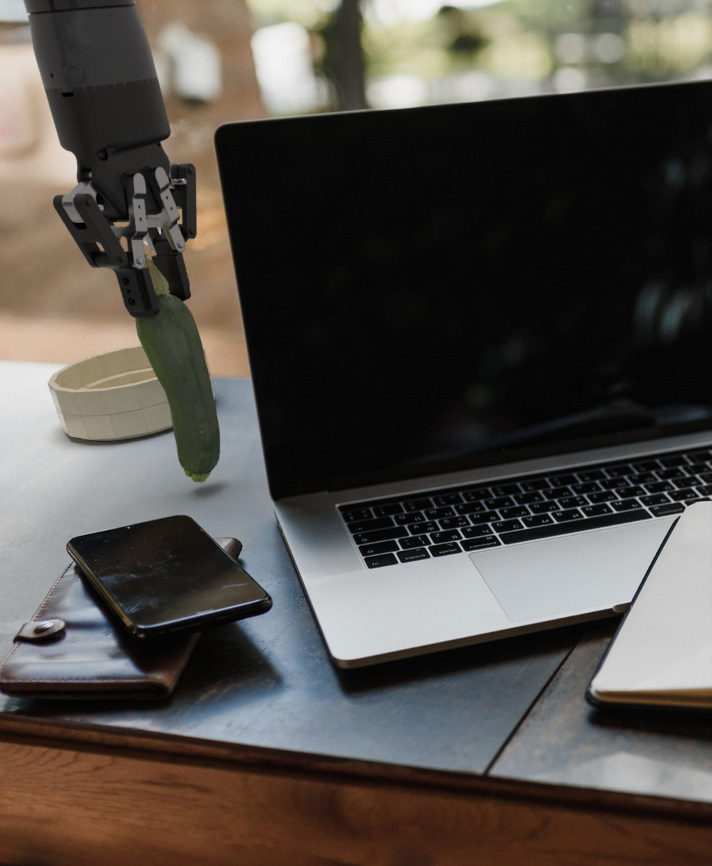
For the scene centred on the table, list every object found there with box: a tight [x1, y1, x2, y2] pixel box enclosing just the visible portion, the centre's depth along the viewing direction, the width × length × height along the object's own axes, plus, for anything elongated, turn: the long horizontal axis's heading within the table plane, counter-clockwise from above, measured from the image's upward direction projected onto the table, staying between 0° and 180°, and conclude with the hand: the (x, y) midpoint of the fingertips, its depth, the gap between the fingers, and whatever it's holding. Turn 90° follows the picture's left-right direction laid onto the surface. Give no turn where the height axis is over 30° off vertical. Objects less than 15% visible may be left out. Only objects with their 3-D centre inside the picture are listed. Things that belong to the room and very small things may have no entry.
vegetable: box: [126, 249, 221, 483], centre depth 86 cm, size 4×4×20 cm
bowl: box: [47, 344, 217, 442], centre depth 108 cm, size 14×14×6 cm
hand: (161, 307), depth 84 cm, fingers closed on vegetable, 3 cm apart
